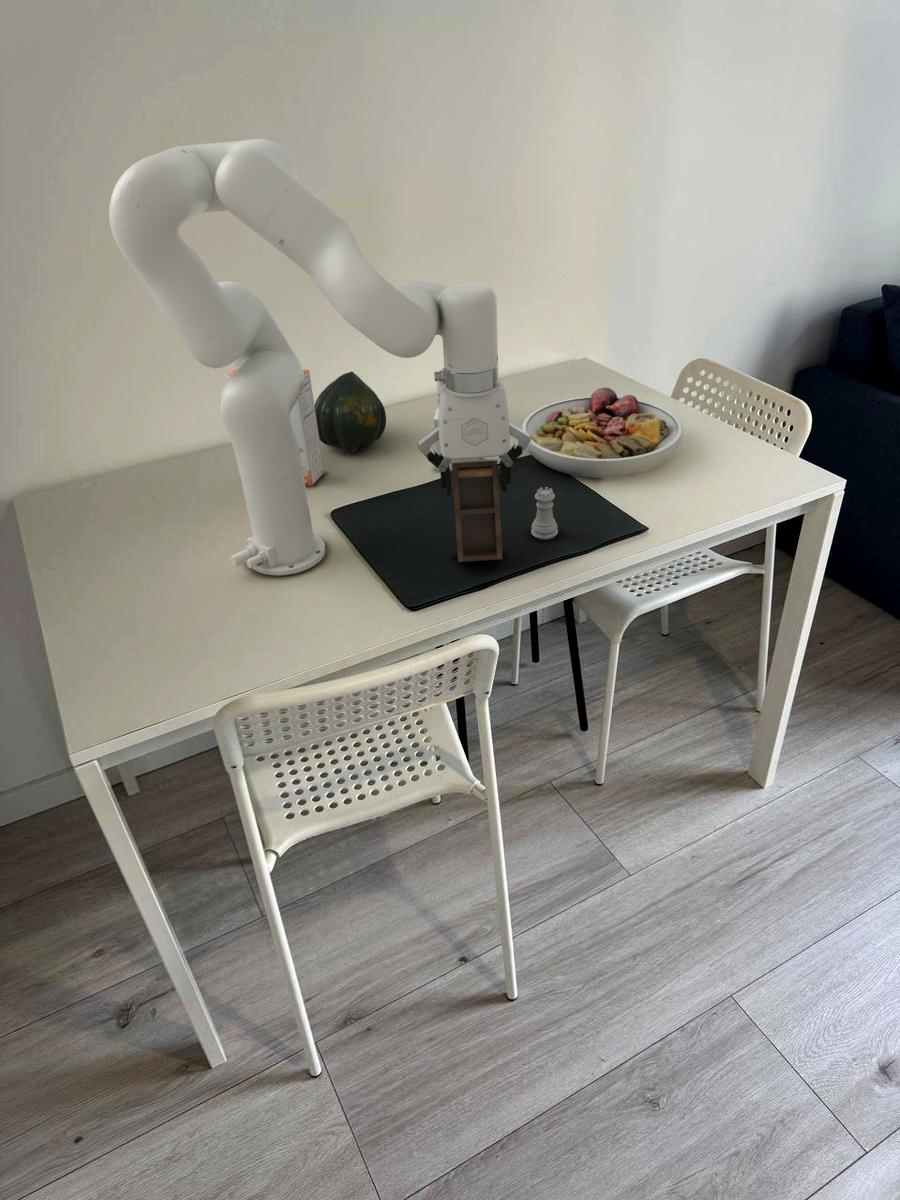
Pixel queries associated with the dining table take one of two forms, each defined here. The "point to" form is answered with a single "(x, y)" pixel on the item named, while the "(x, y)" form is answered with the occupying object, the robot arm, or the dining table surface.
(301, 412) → the cracker box
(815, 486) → the dining table surface
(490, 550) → the brown wooden shelf box
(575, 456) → the bowl
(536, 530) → the rook chess piece
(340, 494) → the dining table surface
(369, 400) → the squash
